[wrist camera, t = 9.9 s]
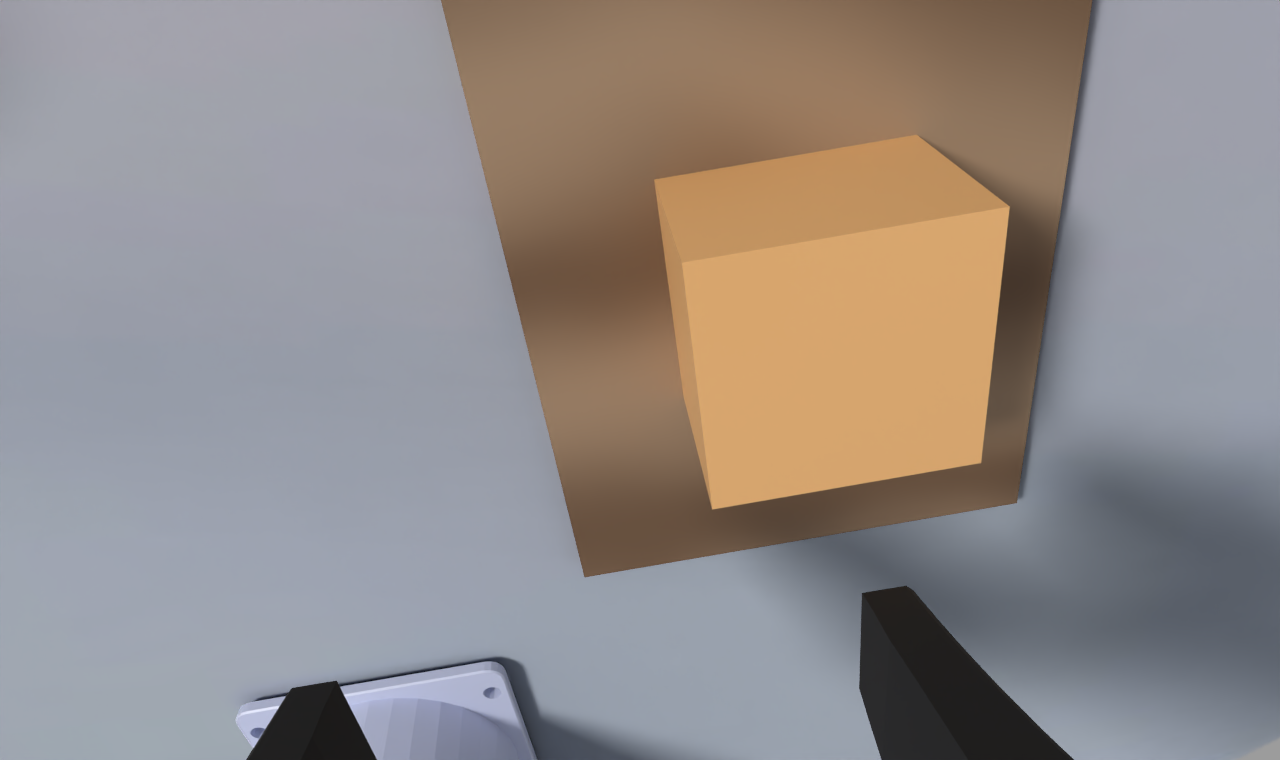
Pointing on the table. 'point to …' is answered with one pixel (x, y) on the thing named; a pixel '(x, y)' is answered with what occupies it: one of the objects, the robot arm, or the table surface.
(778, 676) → the table surface
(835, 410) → the cardboard-colored cube
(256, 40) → the table surface
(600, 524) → the post board
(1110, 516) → the table surface
